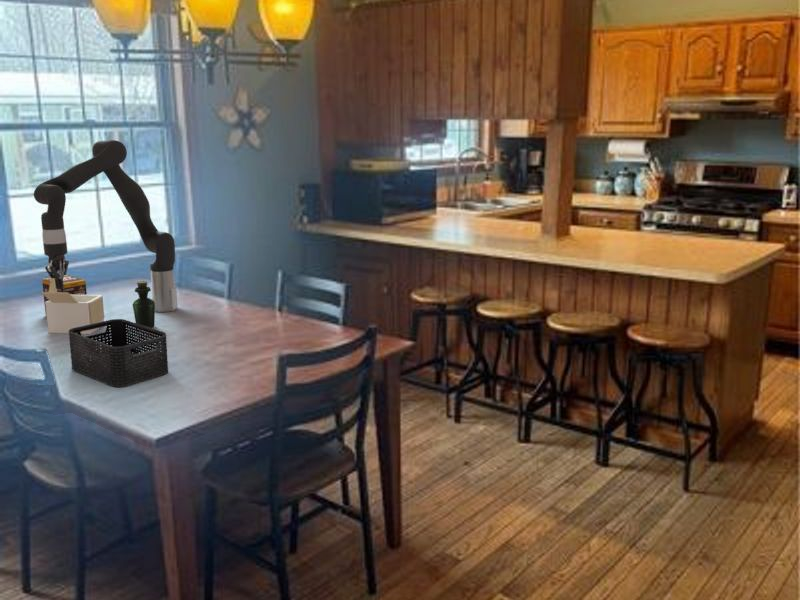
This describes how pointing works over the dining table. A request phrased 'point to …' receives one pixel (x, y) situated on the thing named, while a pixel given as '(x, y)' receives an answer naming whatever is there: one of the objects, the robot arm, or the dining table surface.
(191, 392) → the dining table surface
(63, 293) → the long flap
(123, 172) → the robot arm
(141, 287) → the potion bottle
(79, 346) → the storage bin
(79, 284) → the supplement box
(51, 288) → the short flap
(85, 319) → the carton
